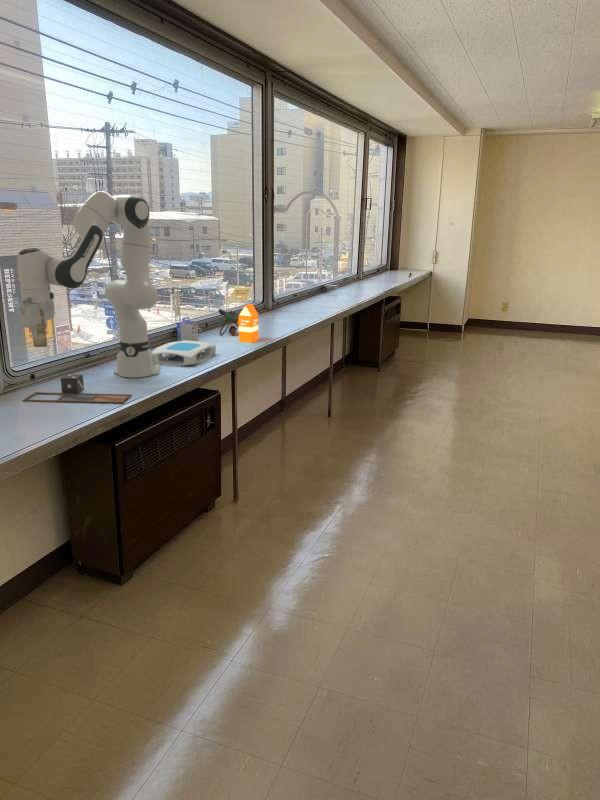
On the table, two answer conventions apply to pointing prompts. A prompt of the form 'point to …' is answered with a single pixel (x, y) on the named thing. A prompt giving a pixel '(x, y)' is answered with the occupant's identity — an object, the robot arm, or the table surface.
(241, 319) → the orange juice
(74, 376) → the die
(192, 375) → the table surface
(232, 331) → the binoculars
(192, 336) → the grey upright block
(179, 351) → the white step stool
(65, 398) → the board
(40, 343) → the pawn
